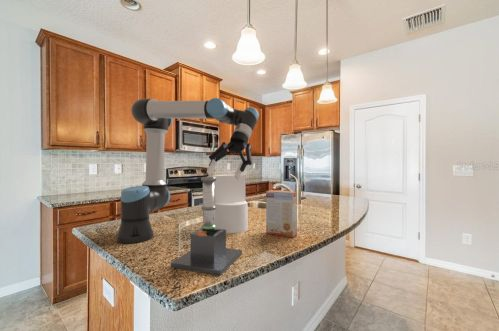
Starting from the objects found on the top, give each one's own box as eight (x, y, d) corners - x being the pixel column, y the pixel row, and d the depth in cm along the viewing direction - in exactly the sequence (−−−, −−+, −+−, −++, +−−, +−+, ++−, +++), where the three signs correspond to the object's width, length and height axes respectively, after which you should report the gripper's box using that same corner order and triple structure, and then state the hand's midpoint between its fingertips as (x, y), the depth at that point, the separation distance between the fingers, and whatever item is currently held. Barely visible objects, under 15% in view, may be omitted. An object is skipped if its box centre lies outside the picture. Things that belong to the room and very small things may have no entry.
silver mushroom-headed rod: (198, 241, 80) (198, 177, 80) (205, 237, 85) (205, 176, 85) (211, 243, 78) (211, 177, 78) (218, 238, 83) (218, 177, 83)
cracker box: (297, 234, 111) (297, 191, 111) (292, 238, 106) (292, 192, 106) (271, 230, 119) (271, 189, 119) (265, 233, 114) (265, 190, 114)
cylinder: (209, 227, 126) (209, 175, 126) (238, 223, 134) (238, 174, 134) (222, 235, 111) (222, 176, 111) (253, 230, 119) (253, 175, 119)
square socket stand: (170, 267, 76) (170, 232, 76) (199, 248, 93) (199, 220, 93) (220, 275, 70) (220, 238, 70) (241, 254, 87) (241, 224, 87)
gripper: (269, 142, 100) (252, 184, 90) (221, 140, 112) (202, 177, 102) (263, 130, 95) (245, 173, 85) (214, 129, 107) (193, 167, 96)
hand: (221, 175), depth 93 cm, fingers open, 13 cm apart
